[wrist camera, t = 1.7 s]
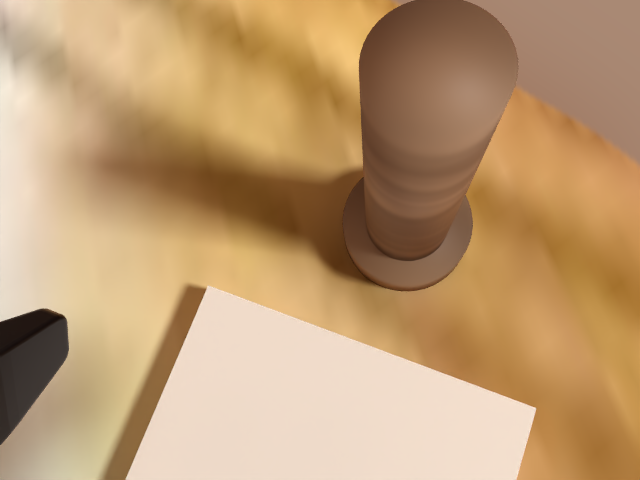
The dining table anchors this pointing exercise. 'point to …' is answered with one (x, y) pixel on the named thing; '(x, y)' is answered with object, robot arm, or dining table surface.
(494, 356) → the dining table surface
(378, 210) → the tamper
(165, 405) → the tile
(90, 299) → the dining table surface
